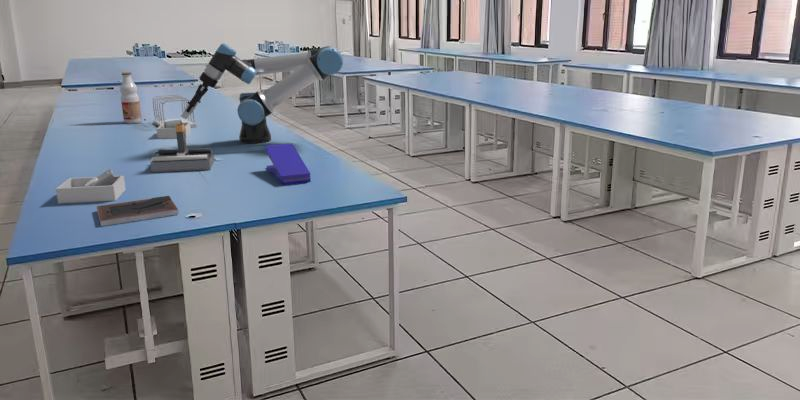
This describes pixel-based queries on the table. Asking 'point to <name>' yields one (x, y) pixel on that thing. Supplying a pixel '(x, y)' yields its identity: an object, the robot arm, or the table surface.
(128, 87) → the fruit juice
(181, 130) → the lever
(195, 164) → the breaker panel
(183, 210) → the table surface
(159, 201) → the picture frame
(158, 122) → the file sorter
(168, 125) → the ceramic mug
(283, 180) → the stapler
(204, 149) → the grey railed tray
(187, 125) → the mug tray
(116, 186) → the tray
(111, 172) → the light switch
